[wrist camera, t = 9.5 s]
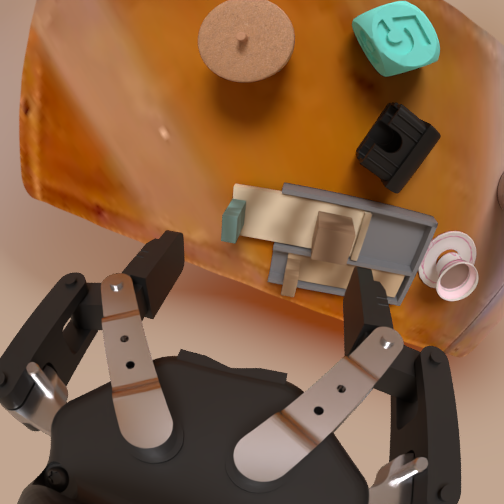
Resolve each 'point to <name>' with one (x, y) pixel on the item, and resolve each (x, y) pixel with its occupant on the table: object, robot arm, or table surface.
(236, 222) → the strip
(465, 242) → the teacup
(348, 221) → the walnut cube
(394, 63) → the decorative dice
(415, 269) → the tray
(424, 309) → the table surface
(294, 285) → the strip
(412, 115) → the end cap
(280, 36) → the lidded jar
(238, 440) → the robot arm
